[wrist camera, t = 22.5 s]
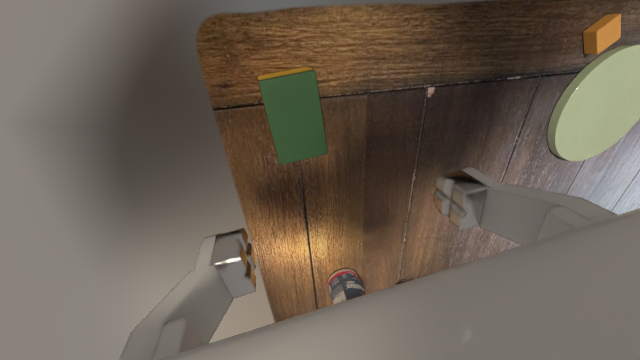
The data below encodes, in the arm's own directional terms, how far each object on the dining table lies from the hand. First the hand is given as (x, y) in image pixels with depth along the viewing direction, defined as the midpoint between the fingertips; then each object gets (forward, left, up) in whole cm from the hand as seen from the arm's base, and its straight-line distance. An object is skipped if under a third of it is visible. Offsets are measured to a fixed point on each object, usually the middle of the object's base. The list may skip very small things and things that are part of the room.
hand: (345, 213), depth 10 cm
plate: (+9, +43, -19) cm, 48 cm away
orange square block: (-1, +38, -19) cm, 43 cm away
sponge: (0, 0, -19) cm, 19 cm away
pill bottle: (+29, +2, -19) cm, 35 cm away
